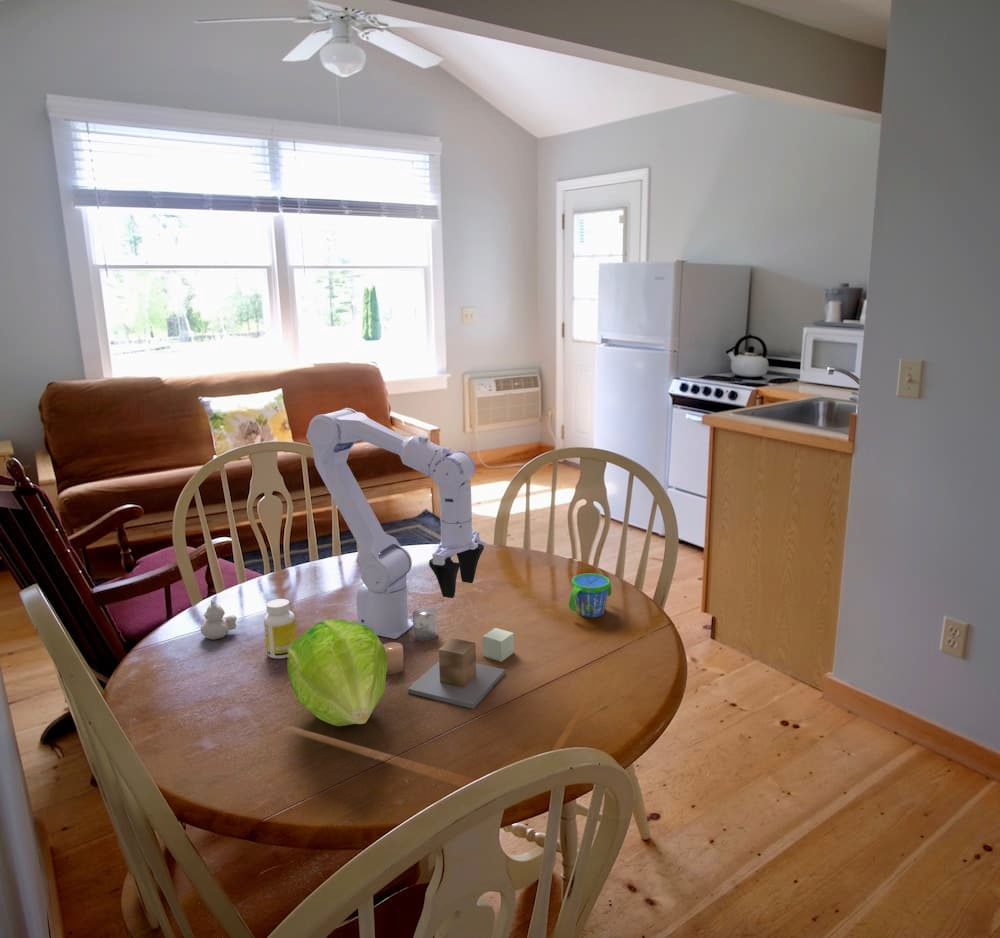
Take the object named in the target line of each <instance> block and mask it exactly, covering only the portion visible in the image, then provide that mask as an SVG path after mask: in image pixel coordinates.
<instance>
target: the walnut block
mask: <svg viewBox="0 0 1000 938" xmlns="http://www.w3.org/2000/svg"><path fill="white" fill-rule="evenodd" d="M476 646H477V645H476V642H472V641H469V640H463V639H458V638H454V637H451V638H449V640H447V641H446V642H445V643H444V644H443V645H442V646H441V647H440V648H439V649H438V661H439V669H440V683H444V684H448V685H453V686H457V687H461V688H465V687H466V686H467V685H468V684H469V683H470V681H471V680H472V679H473V678H474V677H475V676H476V663H477V656H476V655H477V651H476V650H477V649H476V648H477V647H476Z"/></svg>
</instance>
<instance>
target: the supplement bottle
mask: <svg viewBox="0 0 1000 938" xmlns="http://www.w3.org/2000/svg"><path fill="white" fill-rule="evenodd" d="M290 609H291V605H290V600H288V599H286V598H277V599H271V600H270V601H268V602H266V612H267V614H266V615H265V616H264V617H263V624H264V625H263V626H264V635H265V636H264V637H265V645H266V647H265V648H266V654H267V656H268V657H269V658H271V659H275V660H277V659H285V658H288V649H289V647H290V646H291V645H292V644H293V643H294V642H295V641H296V640H297V639H298V638H297V627H296V618H295V614H294V612H292V611H291V610H290Z"/></svg>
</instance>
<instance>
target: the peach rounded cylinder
mask: <svg viewBox="0 0 1000 938" xmlns="http://www.w3.org/2000/svg"><path fill="white" fill-rule="evenodd" d="M382 644H383V646H384V647H385V652H386V658H387V665H388V666H387V672H386V675H395V674H399V673H401V672H402V671H403V670H404V669H405V667H404V666H405V665H404V664H405V663H404V649H403V648H404V646H403V644H401V643H400V642H397V641H396V642H395V641H393V642H392V641H391V642H386V643H382Z"/></svg>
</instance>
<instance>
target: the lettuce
mask: <svg viewBox="0 0 1000 938" xmlns="http://www.w3.org/2000/svg"><path fill="white" fill-rule="evenodd" d="M383 644H384V643H383V642H382V641H381V639H380V638H379V636H378V635H376V634H375V632H374V631H373V630H372V629H371V628H369V627H367V626H365V625H362V624H359V623H358V622H354V621H348V620H344V619H339V618H338V619H337V618H336V619H332V618H328V619H325V620H322V621H319V622H317V623H314V624H313V625H312V626H310V627H309V628H308V629H307V630H306V631H304V632H303V633H302V634H301V635H300V636H299V637H298V638H297V640H296V641H295V642H294V643H293V644H292V645H291V646H290V647H289V649H288V657H287V661H286V663H287V664H286V665H287V667H286V668H287V673H288V677H289V681H290V685H291V689H292V691H293V692H294V695H295V697H296V700H297V702H298V703H299V704H301V706H303V707H304V708H306V710H308V711H309V712H311V713H312V714H313V715H314V716H316V718H318V719H319V720H321V721H323V722H325V723H327V724H330V725H332V726H336V727H343V726H350V725H355V724H356V725H363V724H366V723H367V721H368V719H369V718H370V716H371V714H372V713H373V711H374V709H375V708H376V707H377V706H378V705H379V704H380V701H381V699H382V696H383V693H384V692H385V690H386V681H387V680H386V678H387V674H386V672H387V666H388V665H387V658H386V652H385V647H384V646H383Z"/></svg>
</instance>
